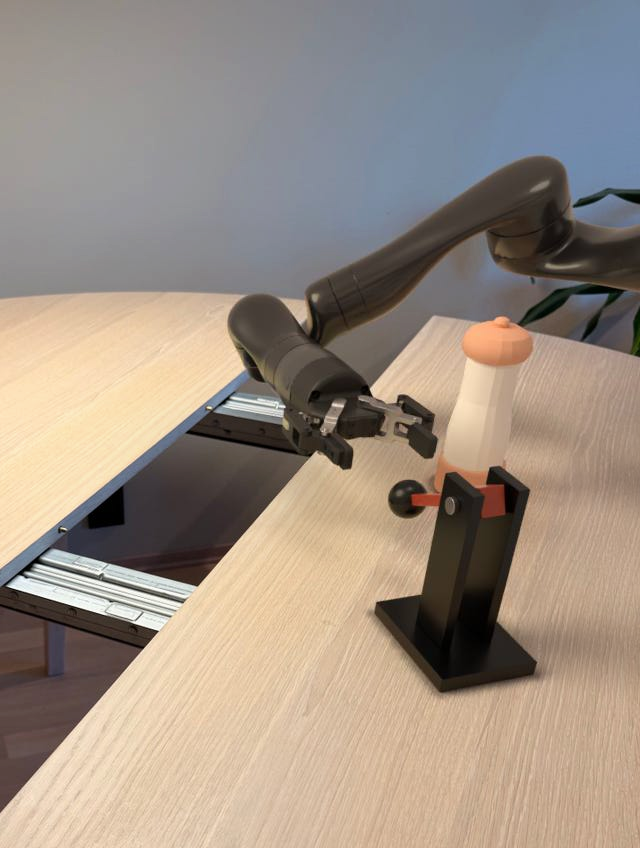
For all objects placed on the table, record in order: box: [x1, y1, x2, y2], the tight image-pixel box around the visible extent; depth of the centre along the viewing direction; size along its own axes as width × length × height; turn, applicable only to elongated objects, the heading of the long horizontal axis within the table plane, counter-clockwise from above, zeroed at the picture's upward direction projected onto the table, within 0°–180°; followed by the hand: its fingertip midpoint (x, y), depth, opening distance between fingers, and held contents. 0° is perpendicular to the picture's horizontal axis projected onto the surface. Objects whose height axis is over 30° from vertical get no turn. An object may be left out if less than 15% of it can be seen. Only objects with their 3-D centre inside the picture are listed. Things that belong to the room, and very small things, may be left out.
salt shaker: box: [433, 316, 534, 494], centre depth 105 cm, size 7×7×19 cm
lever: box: [387, 478, 505, 520], centre depth 84 cm, size 15×4×4 cm, turn 17°
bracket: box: [373, 466, 538, 693], centre depth 82 cm, size 12×9×16 cm
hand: (390, 455), depth 91 cm, fingers open, 8 cm apart
